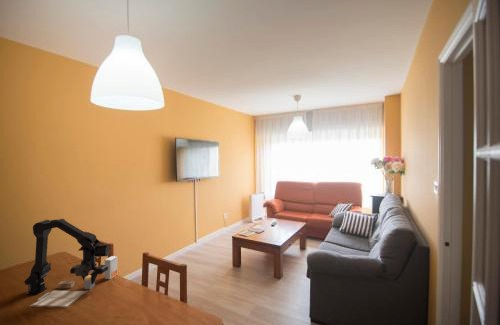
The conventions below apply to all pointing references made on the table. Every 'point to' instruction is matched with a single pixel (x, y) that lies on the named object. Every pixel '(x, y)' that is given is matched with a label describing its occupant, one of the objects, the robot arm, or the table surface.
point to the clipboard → (58, 299)
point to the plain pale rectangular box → (66, 284)
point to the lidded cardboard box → (88, 282)
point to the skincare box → (111, 267)
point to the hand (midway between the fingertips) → (89, 283)
